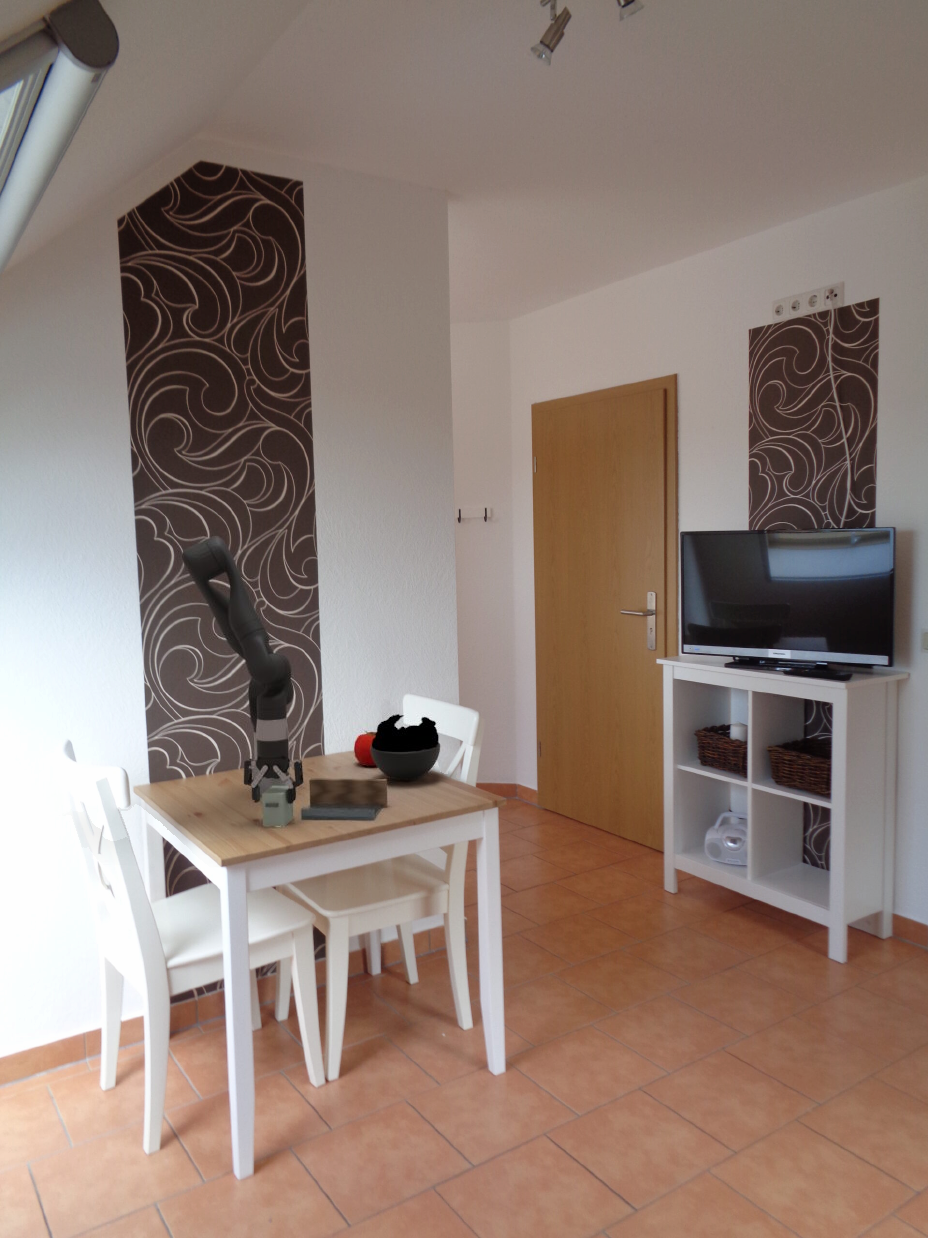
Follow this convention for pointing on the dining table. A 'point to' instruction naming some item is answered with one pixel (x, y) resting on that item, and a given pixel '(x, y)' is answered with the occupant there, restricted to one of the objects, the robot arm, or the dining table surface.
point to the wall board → (348, 791)
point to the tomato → (364, 748)
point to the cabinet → (276, 806)
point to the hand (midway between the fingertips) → (274, 802)
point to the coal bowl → (405, 748)
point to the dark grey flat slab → (341, 811)
